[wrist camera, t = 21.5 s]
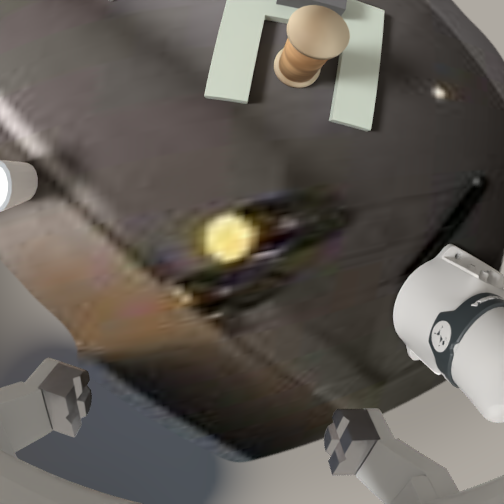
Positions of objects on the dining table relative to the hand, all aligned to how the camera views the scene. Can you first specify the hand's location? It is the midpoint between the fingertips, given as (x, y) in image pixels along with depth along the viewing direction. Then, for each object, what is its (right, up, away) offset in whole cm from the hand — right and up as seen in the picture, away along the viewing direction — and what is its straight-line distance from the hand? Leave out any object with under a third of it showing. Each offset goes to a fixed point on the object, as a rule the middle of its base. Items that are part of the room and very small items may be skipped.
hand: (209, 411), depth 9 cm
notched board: (+7, +30, +24) cm, 39 cm away
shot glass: (-31, +15, +28) cm, 44 cm away
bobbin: (+7, +27, +25) cm, 38 cm away
